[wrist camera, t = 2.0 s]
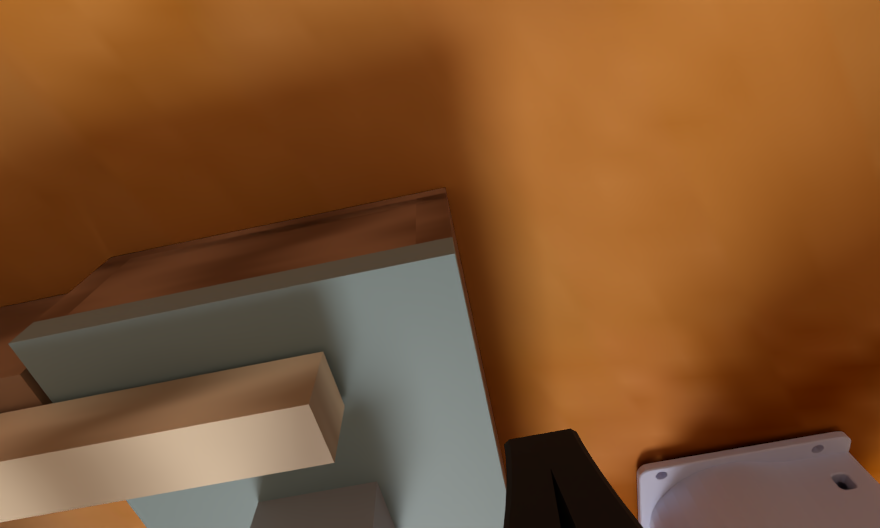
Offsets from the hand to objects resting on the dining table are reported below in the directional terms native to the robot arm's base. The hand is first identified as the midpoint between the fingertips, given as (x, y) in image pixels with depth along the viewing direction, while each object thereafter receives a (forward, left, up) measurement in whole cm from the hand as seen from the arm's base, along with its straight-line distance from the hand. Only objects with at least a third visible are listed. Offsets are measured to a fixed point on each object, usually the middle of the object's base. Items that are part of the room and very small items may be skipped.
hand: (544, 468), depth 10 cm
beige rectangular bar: (+11, 0, -4) cm, 12 cm away
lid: (+7, +6, -5) cm, 11 cm away
